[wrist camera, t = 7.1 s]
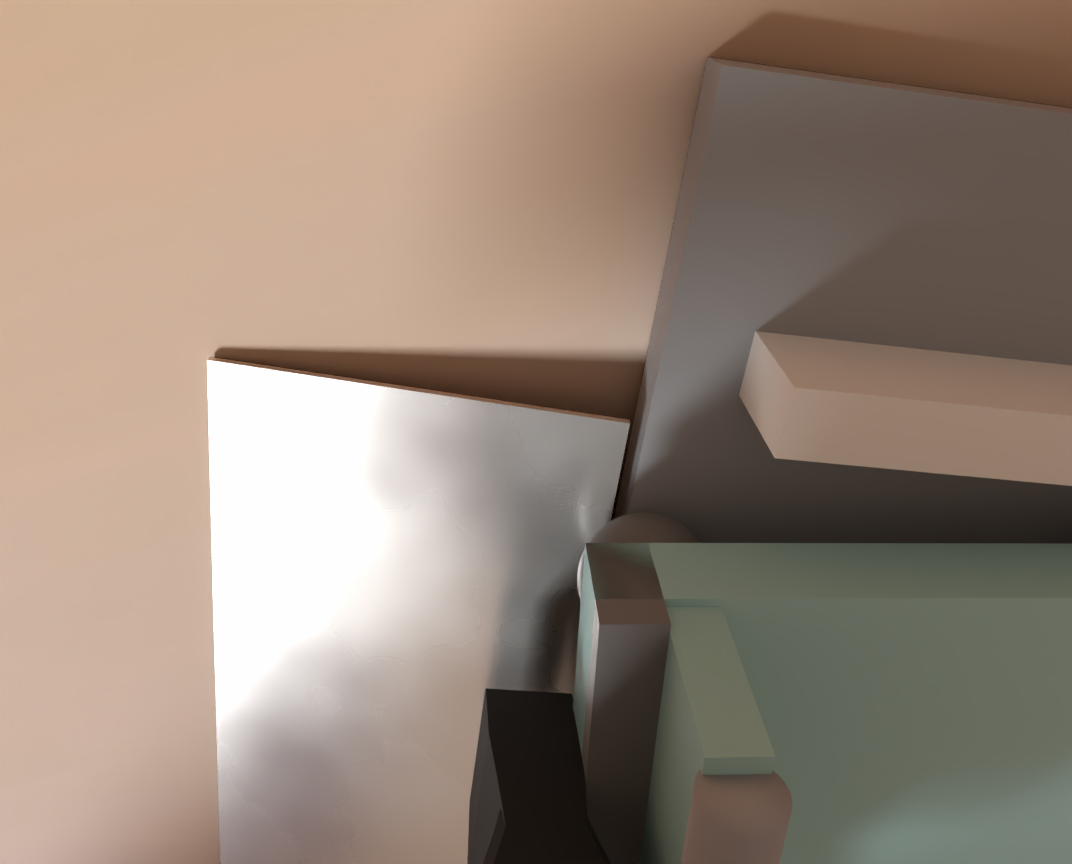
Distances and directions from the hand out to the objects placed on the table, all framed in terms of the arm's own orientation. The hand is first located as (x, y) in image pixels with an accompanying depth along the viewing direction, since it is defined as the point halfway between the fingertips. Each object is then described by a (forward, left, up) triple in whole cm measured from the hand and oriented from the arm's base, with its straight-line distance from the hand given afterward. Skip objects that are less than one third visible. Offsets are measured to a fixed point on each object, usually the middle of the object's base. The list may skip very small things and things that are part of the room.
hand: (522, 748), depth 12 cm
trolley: (0, -5, -1) cm, 5 cm away
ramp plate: (0, +2, -1) cm, 2 cm away
